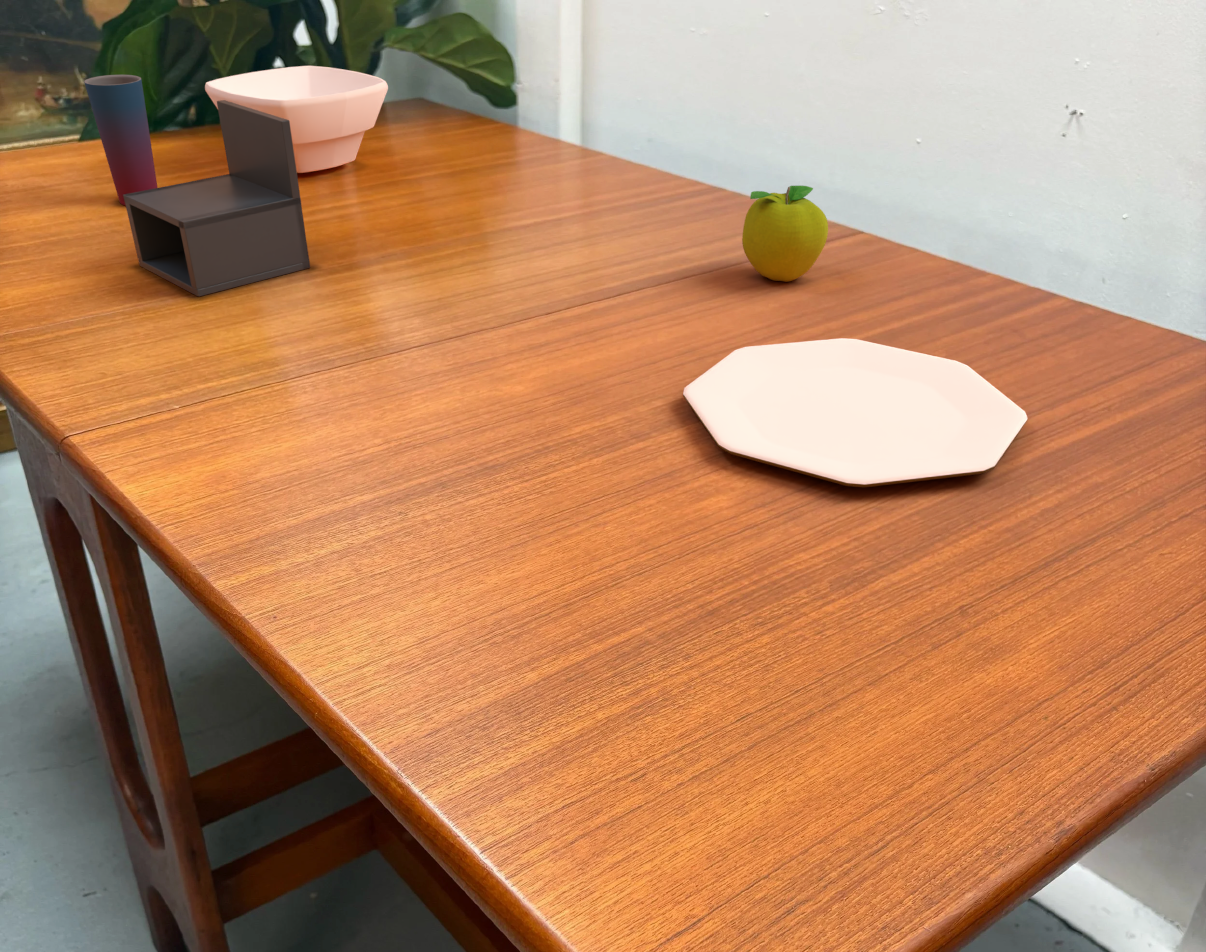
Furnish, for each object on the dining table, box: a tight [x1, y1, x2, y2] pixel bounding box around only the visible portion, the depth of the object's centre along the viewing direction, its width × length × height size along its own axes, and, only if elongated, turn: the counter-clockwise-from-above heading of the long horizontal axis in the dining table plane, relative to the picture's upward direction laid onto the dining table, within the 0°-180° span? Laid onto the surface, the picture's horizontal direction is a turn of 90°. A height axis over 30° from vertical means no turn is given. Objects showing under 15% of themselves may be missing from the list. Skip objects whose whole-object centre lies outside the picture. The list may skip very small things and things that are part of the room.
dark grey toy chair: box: [123, 100, 311, 297], centre depth 126 cm, size 14×14×16 cm
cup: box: [83, 74, 159, 206], centre depth 148 cm, size 7×7×15 cm
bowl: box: [204, 65, 389, 174], centre depth 164 cm, size 22×22×12 cm
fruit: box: [741, 185, 829, 283], centre depth 126 cm, size 9×9×10 cm
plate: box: [682, 337, 1028, 488], centre depth 99 cm, size 28×28×2 cm
